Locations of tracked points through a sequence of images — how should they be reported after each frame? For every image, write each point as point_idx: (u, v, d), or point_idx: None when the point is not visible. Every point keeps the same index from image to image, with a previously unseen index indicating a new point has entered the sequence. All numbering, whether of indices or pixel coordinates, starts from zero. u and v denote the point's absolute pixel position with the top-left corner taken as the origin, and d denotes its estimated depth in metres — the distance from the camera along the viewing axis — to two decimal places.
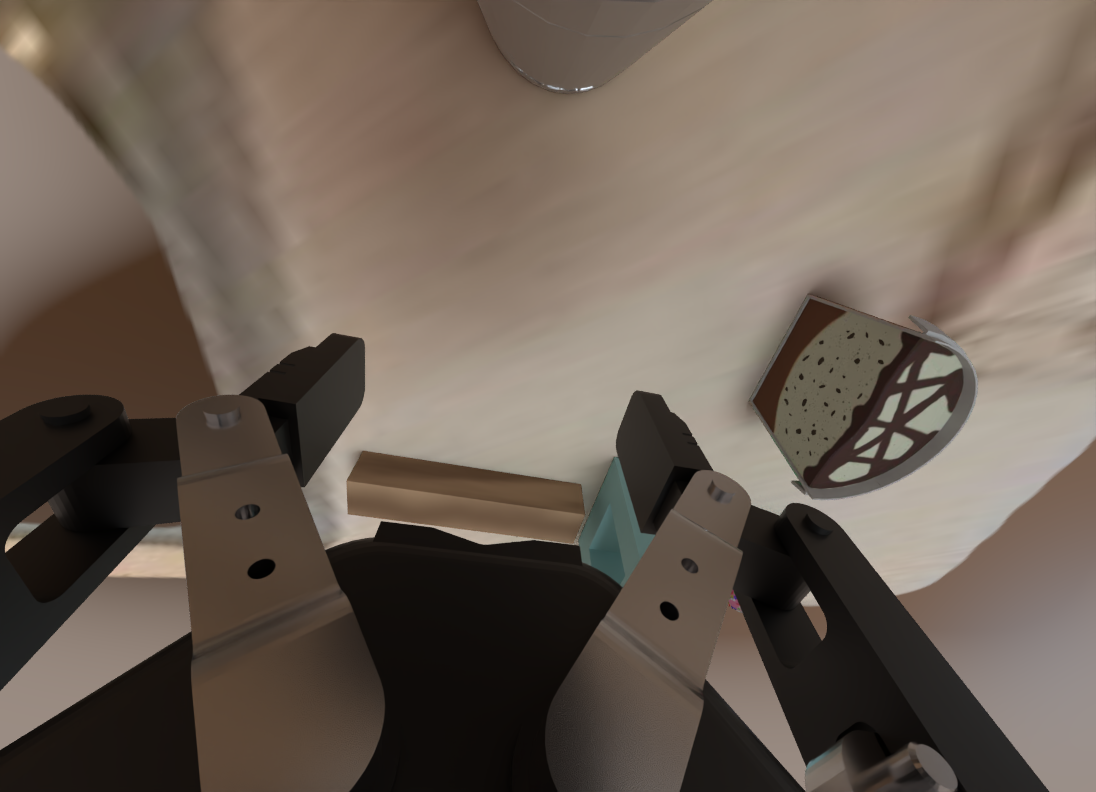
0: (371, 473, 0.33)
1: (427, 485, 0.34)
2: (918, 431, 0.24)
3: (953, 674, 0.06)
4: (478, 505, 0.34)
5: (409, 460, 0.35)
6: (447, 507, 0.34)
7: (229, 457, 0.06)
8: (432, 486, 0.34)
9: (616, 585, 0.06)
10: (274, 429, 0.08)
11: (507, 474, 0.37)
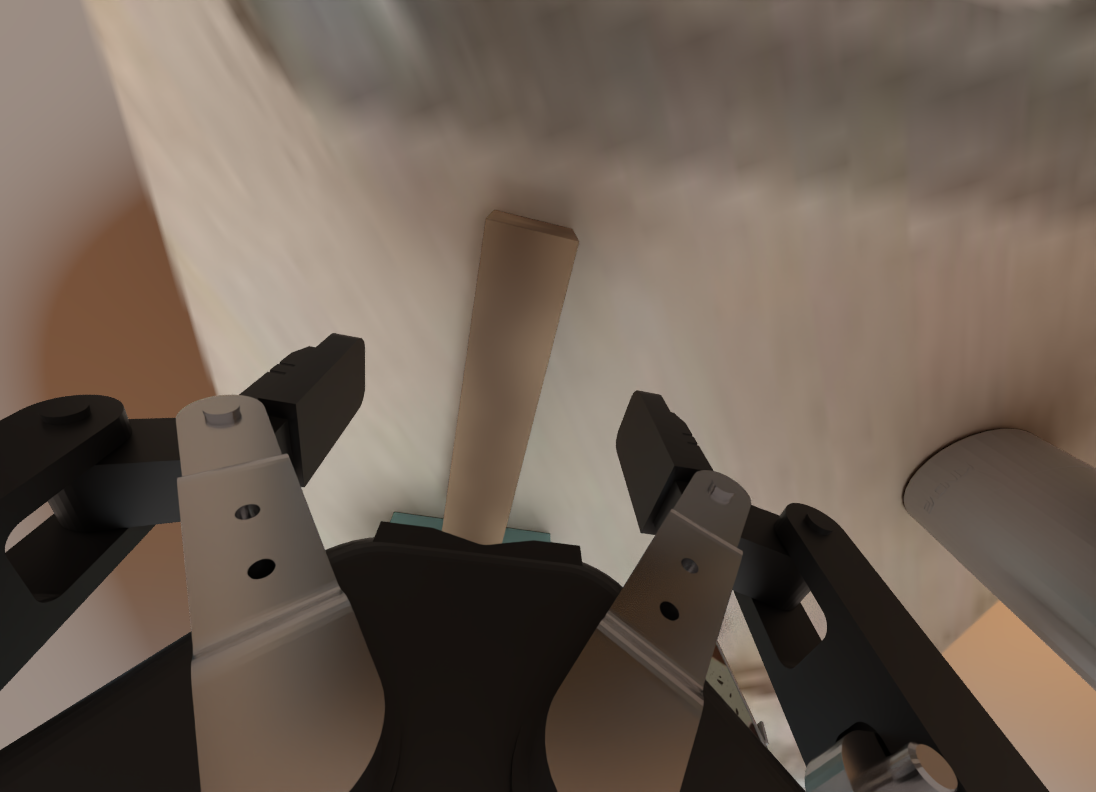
0: None
1: None
2: None
3: (953, 673, 0.06)
4: (516, 438, 0.22)
5: None
6: (510, 396, 0.21)
7: (230, 457, 0.06)
8: None
9: (616, 585, 0.06)
10: (274, 429, 0.08)
11: None
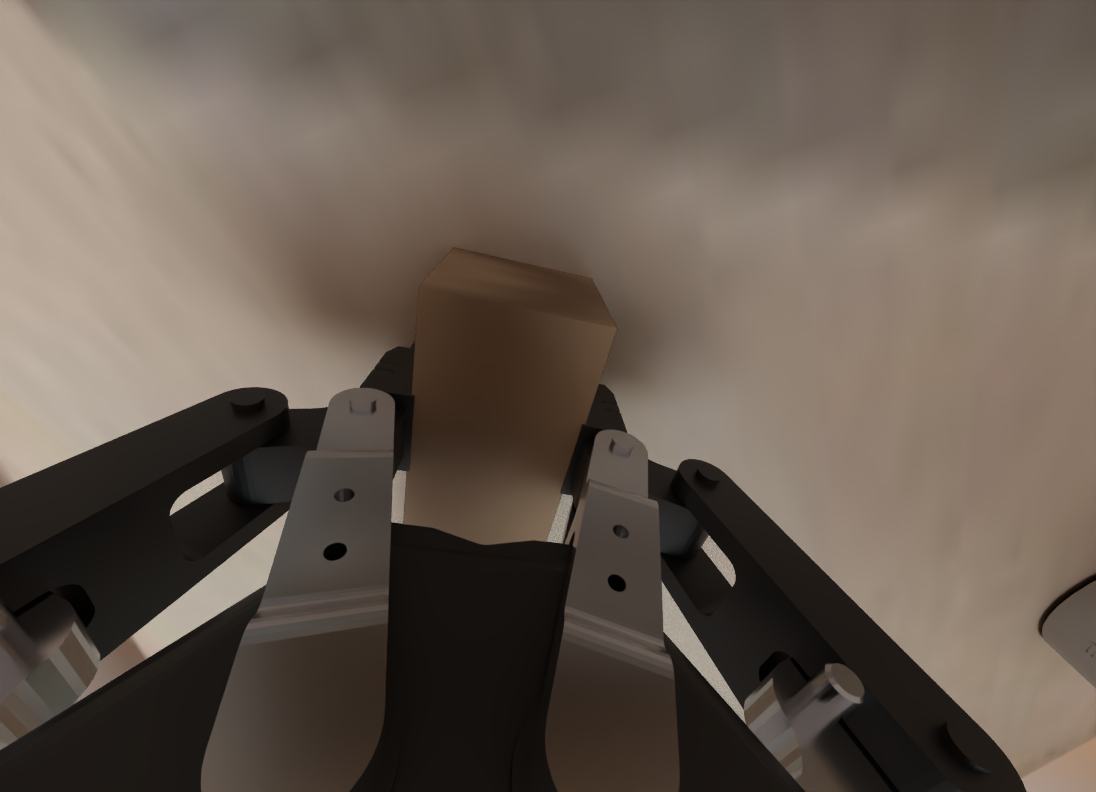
0: None
1: None
2: None
3: (833, 582, 0.07)
4: None
5: None
6: None
7: (354, 442, 0.07)
8: None
9: None
10: (397, 418, 0.09)
11: None
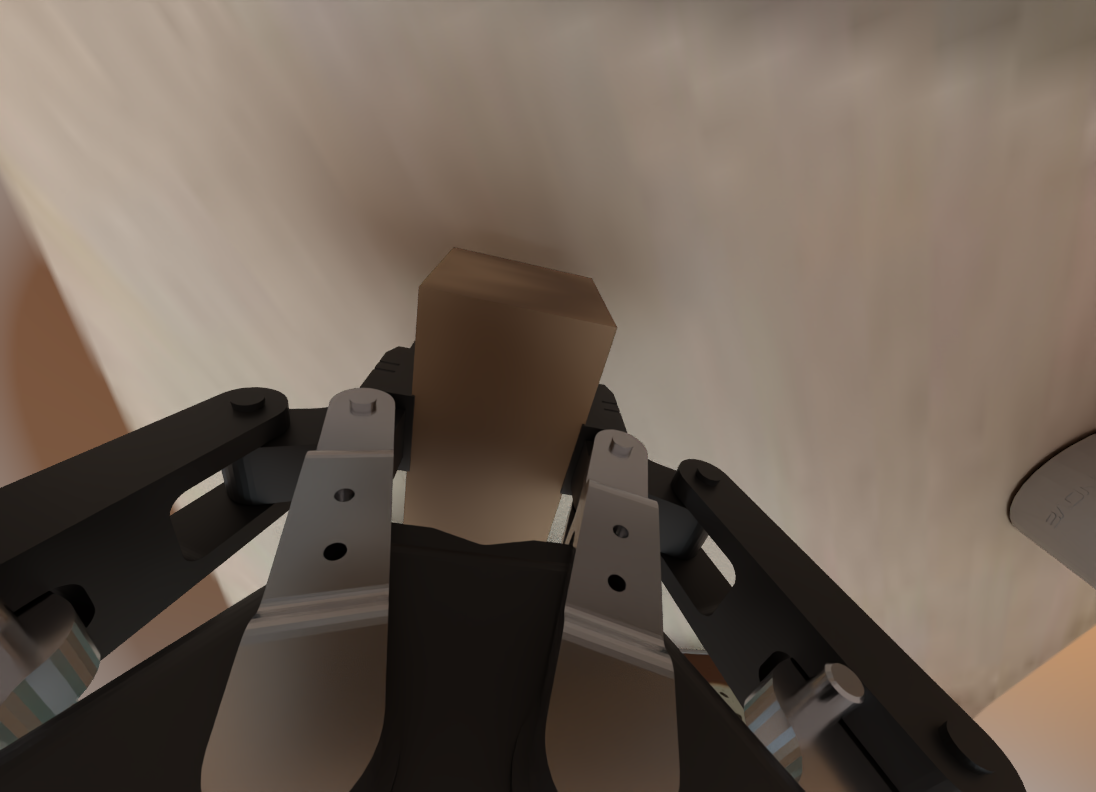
0: None
1: None
2: None
3: (832, 582, 0.07)
4: None
5: None
6: None
7: (354, 442, 0.07)
8: None
9: None
10: (397, 418, 0.09)
11: None
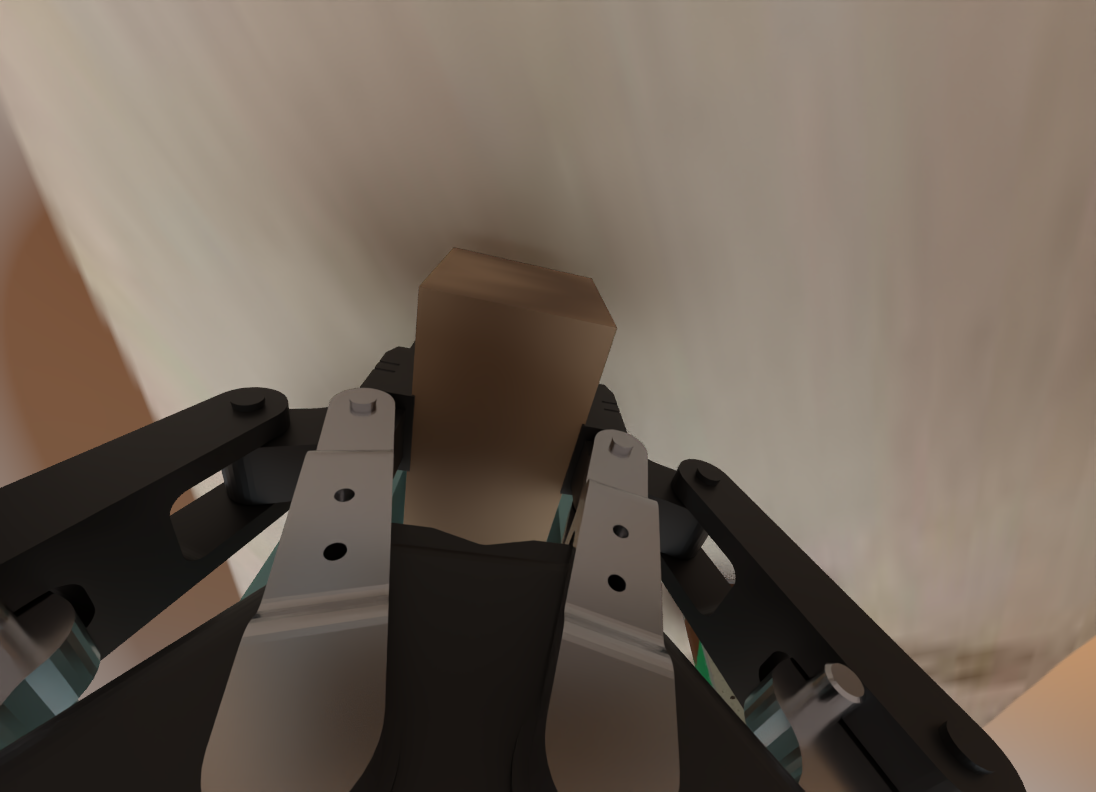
0: None
1: None
2: None
3: (832, 582, 0.07)
4: None
5: None
6: None
7: (354, 442, 0.07)
8: None
9: None
10: (398, 418, 0.09)
11: None
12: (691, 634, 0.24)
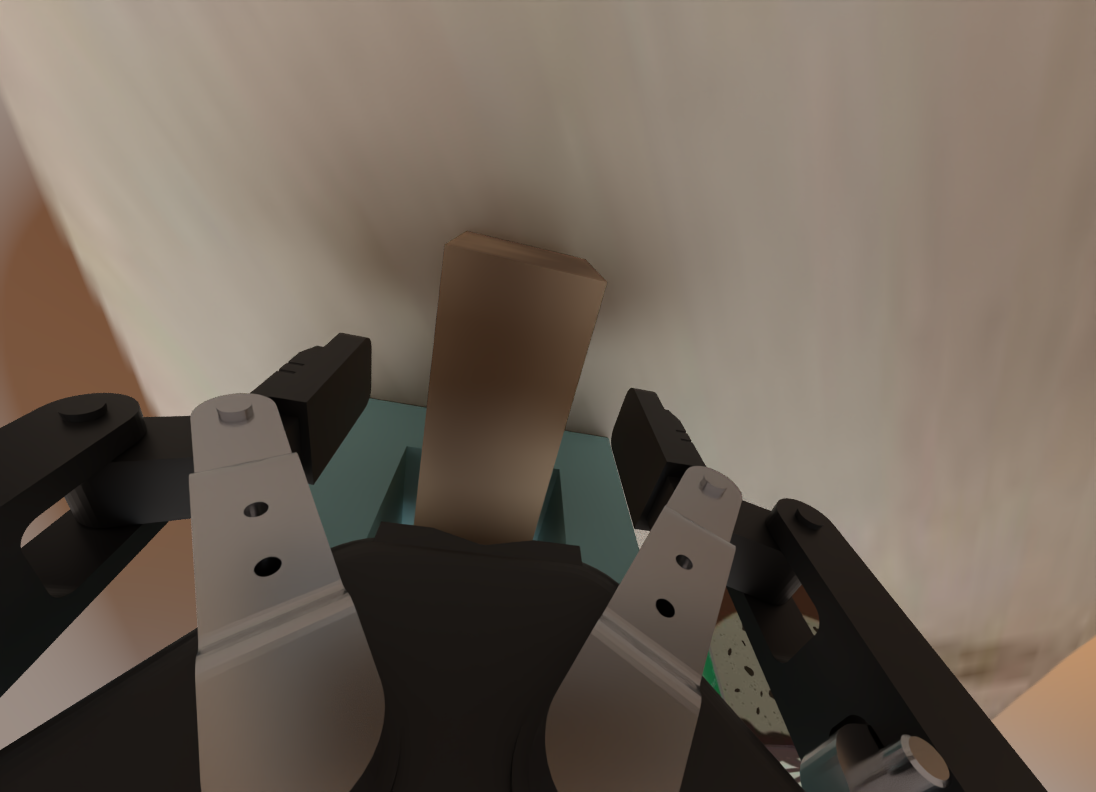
0: None
1: None
2: (800, 781, 0.21)
3: (943, 664, 0.06)
4: None
5: None
6: (493, 518, 0.13)
7: (241, 455, 0.06)
8: None
9: (616, 585, 0.06)
10: (285, 427, 0.08)
11: None
12: None
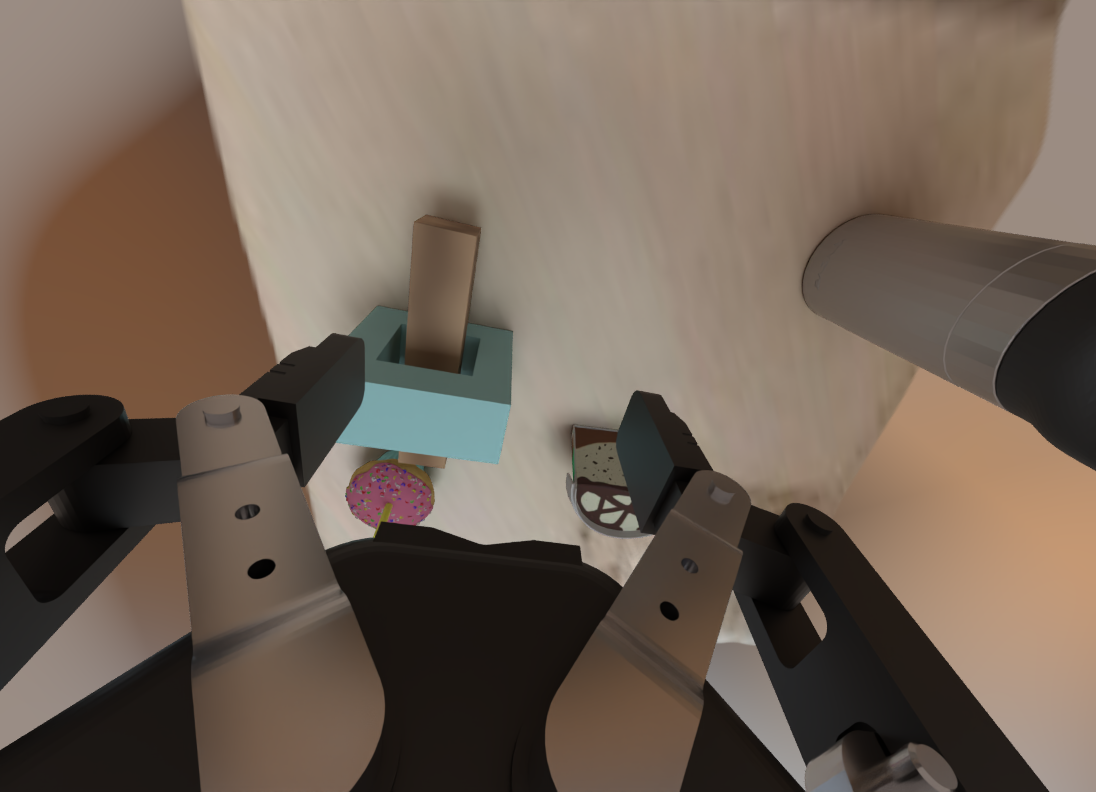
0: (474, 257, 0.28)
1: (465, 321, 0.30)
2: (622, 521, 0.38)
3: (954, 673, 0.06)
4: None
5: (472, 284, 0.31)
6: (441, 345, 0.30)
7: (229, 457, 0.06)
8: (464, 327, 0.30)
9: (616, 585, 0.06)
10: (274, 429, 0.08)
11: None
12: (572, 450, 0.40)
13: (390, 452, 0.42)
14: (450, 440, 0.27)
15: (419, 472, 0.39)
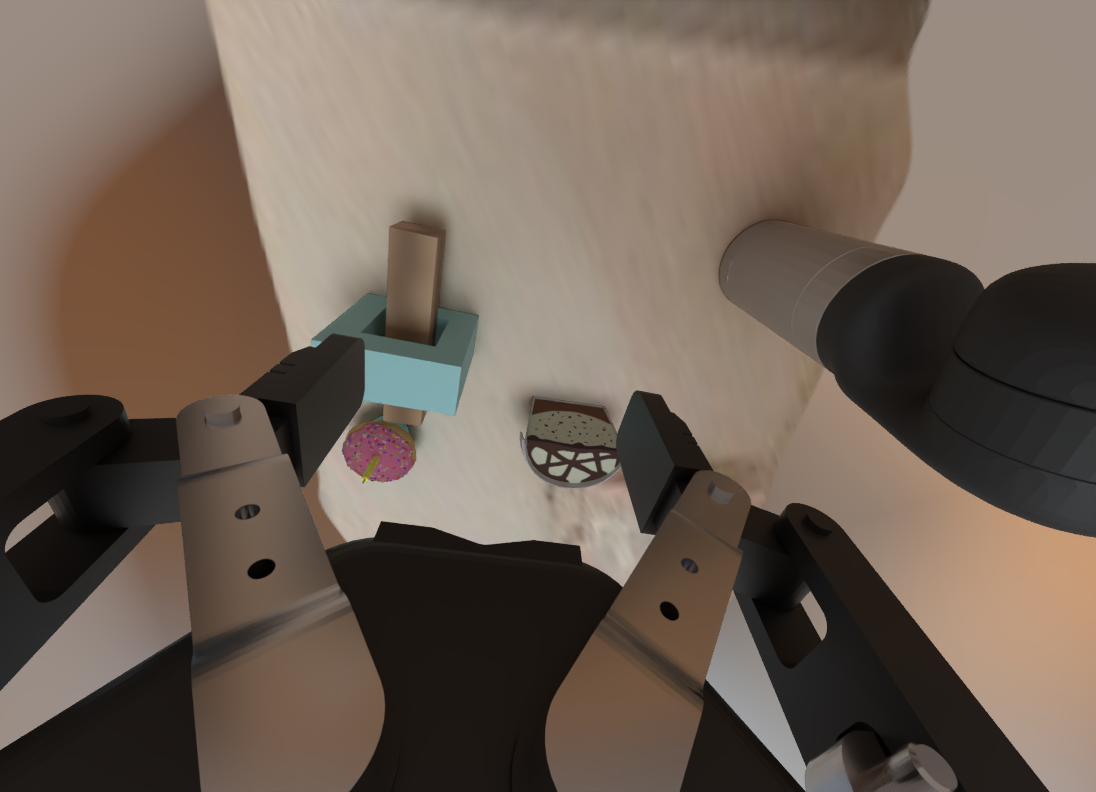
0: (438, 253, 0.36)
1: (433, 304, 0.38)
2: (568, 474, 0.45)
3: (954, 674, 0.06)
4: None
5: (440, 275, 0.39)
6: (413, 323, 0.38)
7: (230, 457, 0.06)
8: (432, 309, 0.38)
9: (616, 585, 0.06)
10: (274, 429, 0.08)
11: None
12: None
13: (380, 417, 0.50)
14: (416, 394, 0.35)
15: (402, 432, 0.47)
